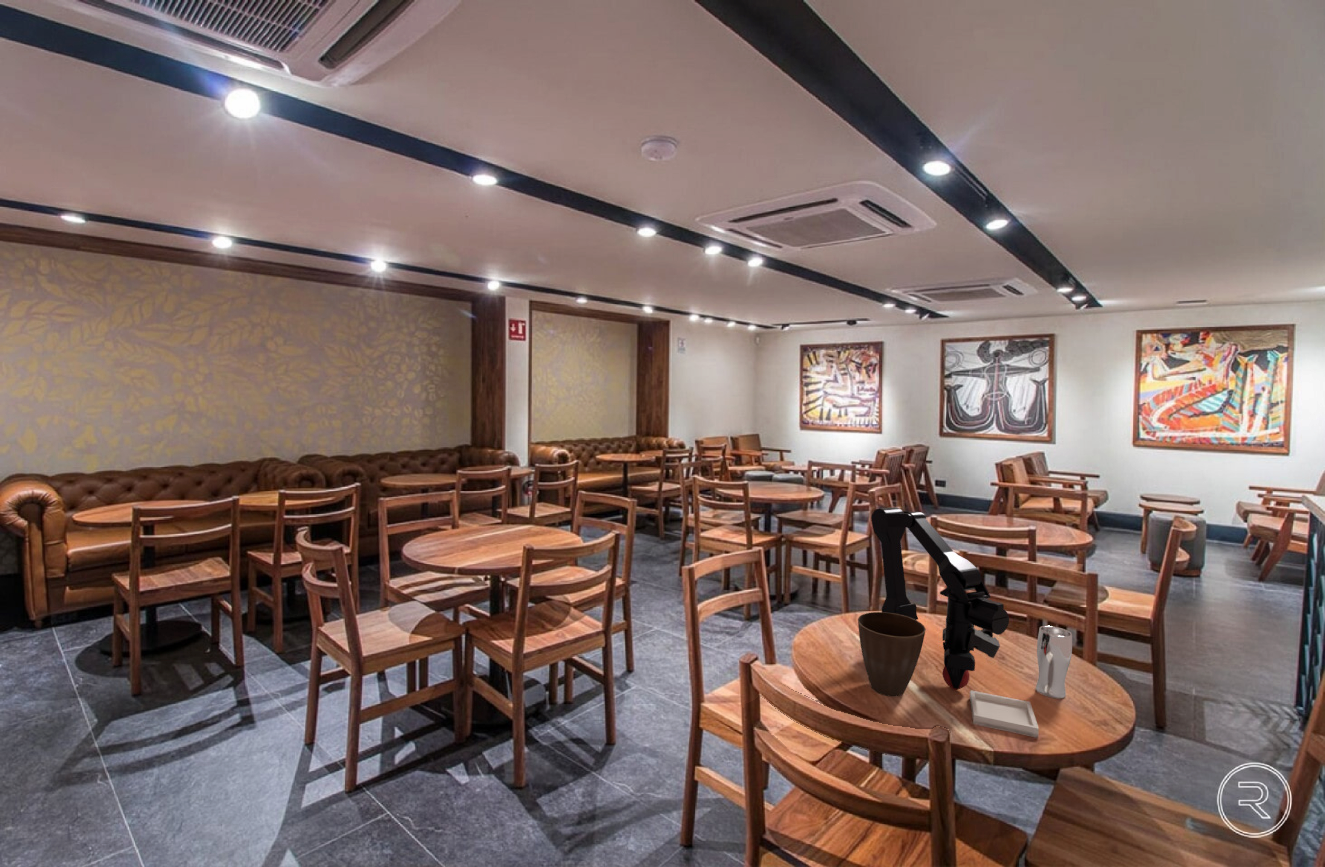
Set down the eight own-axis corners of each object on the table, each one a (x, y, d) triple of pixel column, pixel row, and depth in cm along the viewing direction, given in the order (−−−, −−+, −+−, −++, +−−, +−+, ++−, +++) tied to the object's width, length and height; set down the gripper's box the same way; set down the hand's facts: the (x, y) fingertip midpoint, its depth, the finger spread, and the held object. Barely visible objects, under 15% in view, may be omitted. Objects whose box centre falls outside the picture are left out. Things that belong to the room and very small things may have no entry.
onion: (966, 698, 145) (969, 665, 144) (939, 691, 148) (942, 658, 147) (969, 688, 150) (972, 656, 149) (943, 681, 153) (945, 650, 152)
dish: (973, 723, 134) (973, 714, 134) (969, 698, 145) (970, 690, 145) (1038, 737, 129) (1038, 728, 129) (1029, 710, 140) (1029, 701, 140)
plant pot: (922, 710, 139) (927, 640, 137) (852, 697, 144) (856, 629, 142) (920, 681, 152) (924, 617, 151) (856, 670, 158) (859, 608, 156)
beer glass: (1073, 701, 145) (1078, 638, 144) (1040, 697, 146) (1045, 635, 145) (1060, 687, 152) (1065, 627, 150) (1029, 683, 153) (1033, 624, 152)
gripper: (1003, 639, 136) (997, 708, 137) (994, 611, 153) (989, 673, 154) (946, 630, 140) (942, 697, 141) (944, 603, 157) (940, 664, 158)
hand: (955, 682), depth 148 cm, fingers closed on onion, 6 cm apart
